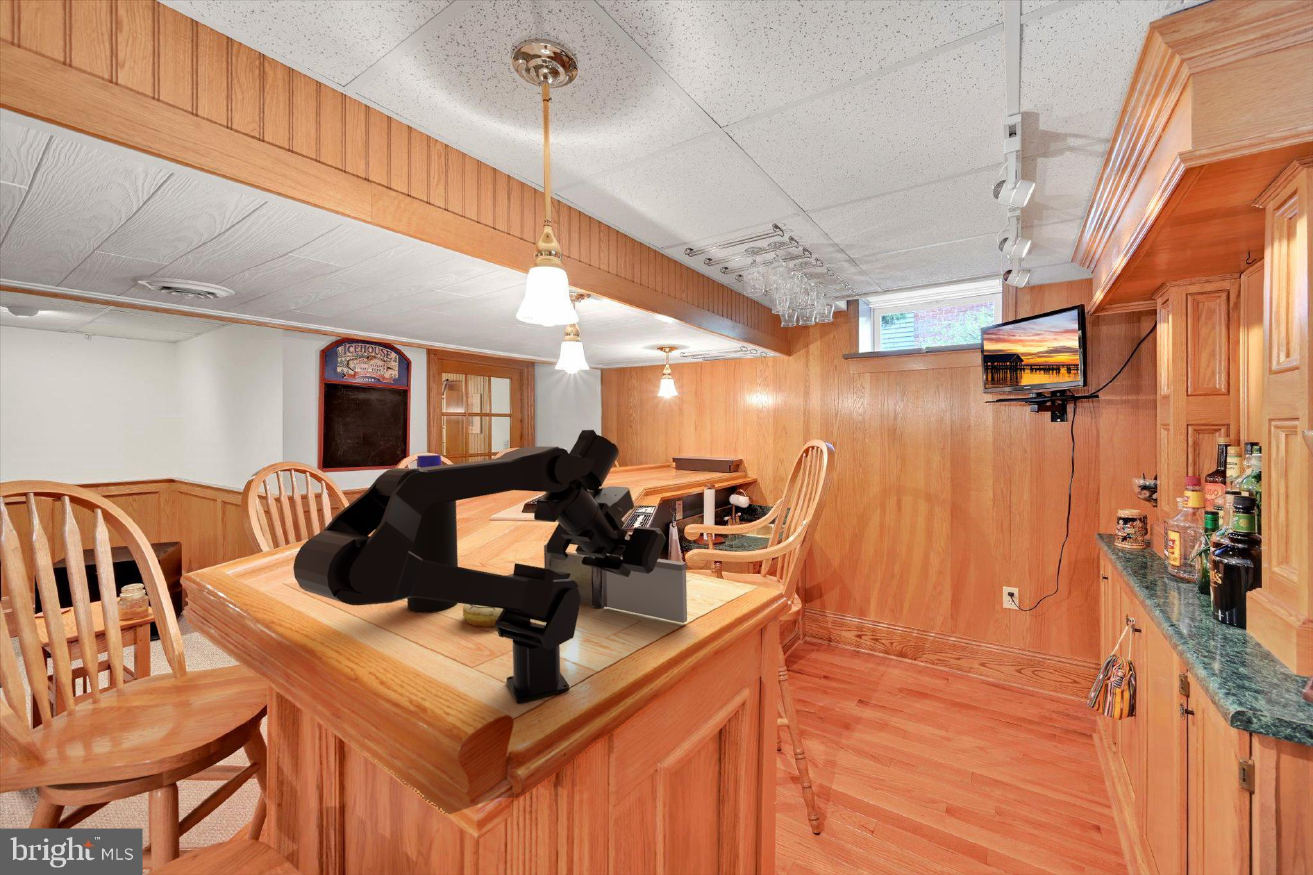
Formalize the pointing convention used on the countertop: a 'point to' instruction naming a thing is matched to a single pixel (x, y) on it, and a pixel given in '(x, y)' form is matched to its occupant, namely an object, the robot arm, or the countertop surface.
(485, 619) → the decorated donut
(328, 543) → the robot arm
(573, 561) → the gate frame
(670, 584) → the gate leaf
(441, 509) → the bottle
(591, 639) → the countertop surface
